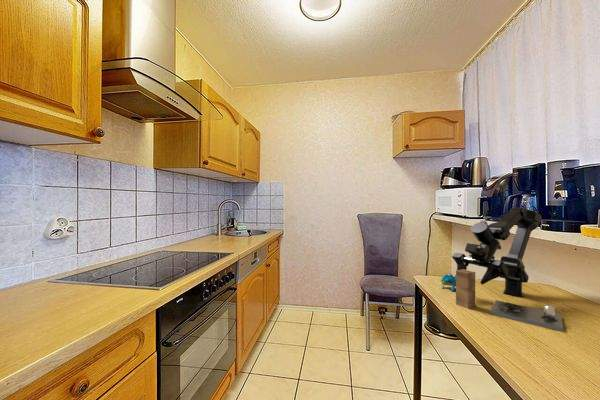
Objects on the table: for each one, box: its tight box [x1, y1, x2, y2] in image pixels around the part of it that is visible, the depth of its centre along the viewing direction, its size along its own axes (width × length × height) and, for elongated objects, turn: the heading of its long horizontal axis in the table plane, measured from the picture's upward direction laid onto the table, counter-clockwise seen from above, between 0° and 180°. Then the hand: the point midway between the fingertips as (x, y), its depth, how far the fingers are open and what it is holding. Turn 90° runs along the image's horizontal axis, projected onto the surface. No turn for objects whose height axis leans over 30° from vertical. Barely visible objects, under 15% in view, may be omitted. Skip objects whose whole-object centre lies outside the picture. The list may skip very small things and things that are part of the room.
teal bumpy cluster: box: [439, 273, 456, 292], centre depth 116 cm, size 11×6×10 cm
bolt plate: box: [489, 299, 564, 333], centre depth 89 cm, size 14×18×5 cm
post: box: [455, 269, 476, 309], centre depth 98 cm, size 4×4×13 cm
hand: (468, 280), depth 99 cm, fingers open, 9 cm apart
